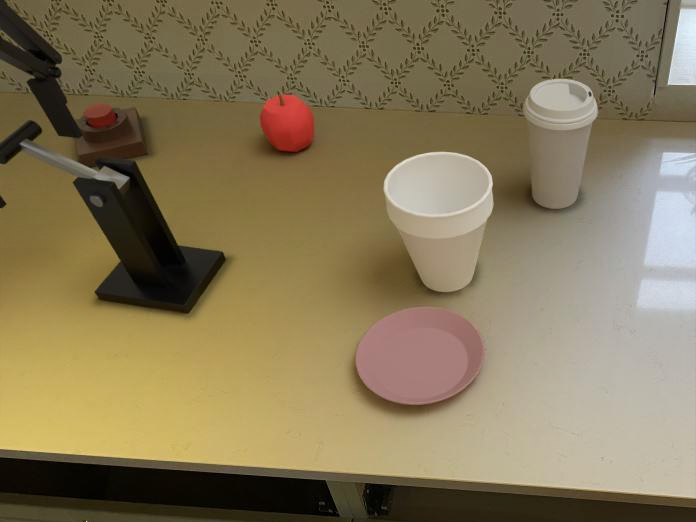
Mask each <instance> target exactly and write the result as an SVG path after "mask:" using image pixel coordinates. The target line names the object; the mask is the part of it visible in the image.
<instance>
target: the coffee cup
mask: <svg viewBox="0 0 696 522" xmlns="http://www.w3.org/2000/svg"><path fill="white" fill-rule="evenodd" d="M522 112H523V115H524V117H525V118H526V122H527V137H528V149H529V151H528V152H529V164H530V165H529V166H530V180H531V181H530V182H531V196H532V199H533V201H534V202H535V203H536V204H537V205H539V206H541V207H543V208H547V209H553V210H560V209H565V208H568V207H571V206H572V205H574V204H575V203H576V202H577V199H578V196H579V192H580V191H579V190H580V186H581V180H582V176H583V171H584V165H585V162H586V161H585V160H586V156H587V150H588V146H589V142H590V137H591V136H590V135H591V131H592V126H593V123H594V121H595V120H596V118H597V117H598V115H599V108H598V104H597V100H596V98H595V96H594V93H593V90H592V89H591V88H590V87H589V86H588V85H586V84H584V83H583V82H580V81H577V80H574V79H569V78H552V79H547V80H543V81H541V82H539V83H537V84H535V85H534V86H533V87H532V88H531V89H530V92H529V94H528V95H527V97H526V99H525V100H524V103H523V108H522Z"/></svg>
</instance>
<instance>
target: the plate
mask: <svg viewBox="0 0 696 522" xmlns="http://www.w3.org/2000/svg"><path fill="white" fill-rule="evenodd" d="M485 349H486V348H485V343H484V340H483V337H482V335H481V333H480V331H479V330H478V328H477V327H476V326H475V325H474V324H473V323H472V322H471V321H470V320H469V319H468V318H466V317H465V316H463V315H462V314H460V313H458V312H456V311H453V310H451V309H448V308H443V307H437V306H414V307H408V308H404V309H400V310H397V311H394V312H391V313H389V314H387V315H385V316H383V317H382V318H380V319H379V320H378V321H376V322H375V323H373V325H371V326H370V327H369V328H368V329H367V330H366V332H365V333H364V334H363V336H362V337H361V339H360V341H359V343H358V345H357V348H356V352H355V367H356V371H357V374H358V376H359V378H360V380H361V382H362V383H363V385H365V386H366V387H367V389H368V390H370V391H371V392H372V393H374V394H375V395H376V396H378V397H380V398H382V399H384V400H387V401H389V402H393V403H395V404H396V403H397V404H401V405H410V406H419V405H421V406H422V405H428V404H429V405H430V404H435V403H438V402H441V401H444V400H447V399H449V398H451V397H454V396H455V395H457V394H459V393H460V392H461V391H462V392H463V390H464V389H466V388H467V387H468V386H469V385H471V383H472V382H473V381H474V380H475V379H476V377H477V376H478V375H479V372H480V371H481V369H482V367H483V364H484V361H485V353H486V352H485Z"/></svg>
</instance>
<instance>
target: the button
mask: <svg viewBox="0 0 696 522" xmlns="http://www.w3.org/2000/svg"><path fill="white" fill-rule="evenodd" d="M112 108H113V107H112V106H111V105H110V104H106V103H98V104H94V105H91V106H89V107H87V108H86V109H84V111H83V115H84V116H85V118H86V120H87V122H88V124H89V125H90V126H91V127H103V126H107V125H109V124H111V123H113V122H115V121H116V119H117V117H116V115H115V113H114V111H113V109H112Z"/></svg>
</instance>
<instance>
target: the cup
mask: <svg viewBox="0 0 696 522" xmlns="http://www.w3.org/2000/svg"><path fill="white" fill-rule="evenodd" d="M493 185H494V183H493V176H492V174H491V172H490V171H489V169H488V168H487V166H485V165H484V164H483V163H481V162H480V160H477V159H476V158H473V157H471V156H469V155H466V154H462V153H458V152H449V151H431V152H430V151H429V152H425V153H421V154H416V155H414V156H411V157H408V158H406V159H404V160H402V161H400V162H399V163H397V164H395V166H393V168H392V169H390V171H389V172H388V173H387V174H386V177H385V178H384V180H383V194H384V196H385V198H384V199H385V207H386V213H387V216H388V218H389V220H390V221H391V223H392V224H393V225H394V226H395V227H396V229H397V231H398V233H399V235H400V238H401V239H402V241H403V244H404V246H405V248H406V250H407V252H408V254H409V257H410V259H411V261H412V263H413V266H414V267H415V269H416V272H417V273H418V276H419V278H420V280H421V282H422V283H423V285H424V286H425V287H426V288H428V289H429V290H432V291H434V292H439V293H453V292H456V291H459V290H462V289H464V288H466V287H467V286H468V285H470V283H471V281H472V280H473V278H474V273H475V270H476V266H477V262H478V257H479V254H480V250H481V246H482V242H483V238H484V233H485V230H486V226H487V222H488V218H490V216H491V215H492V212H493V208H494V194H493Z"/></svg>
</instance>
